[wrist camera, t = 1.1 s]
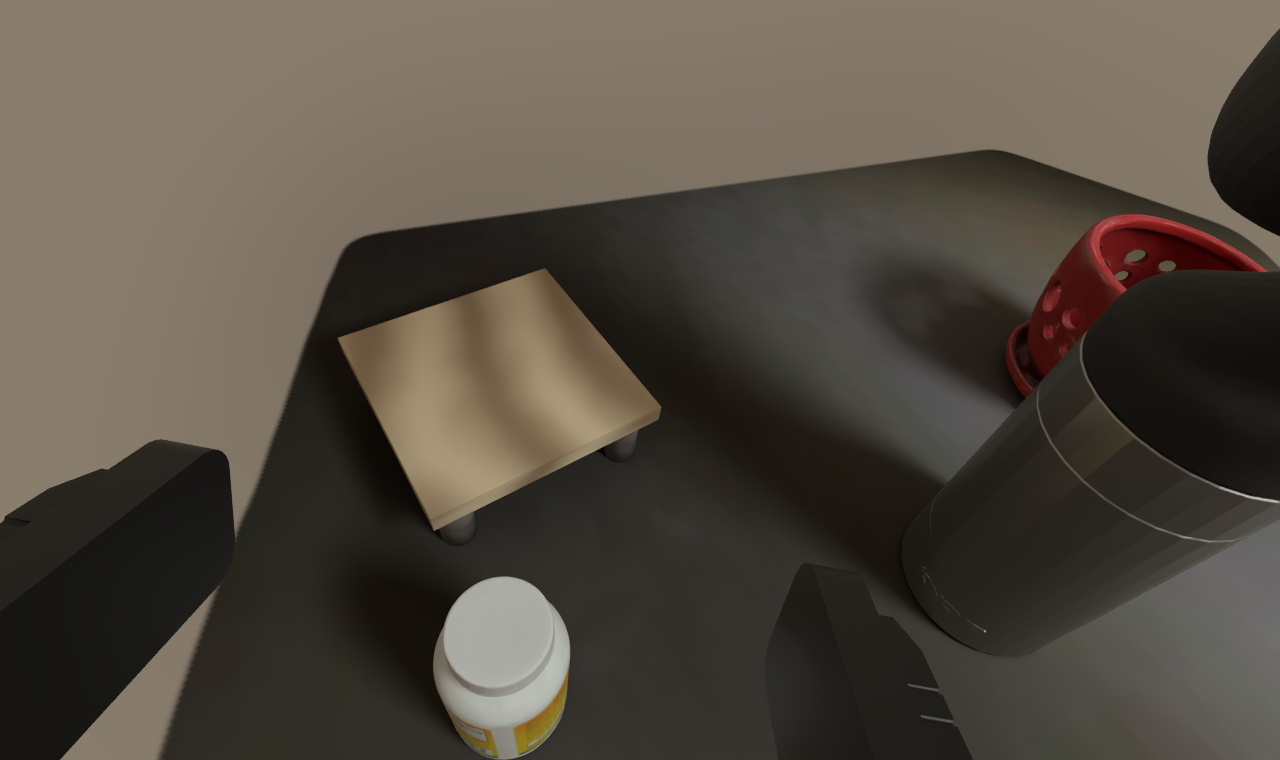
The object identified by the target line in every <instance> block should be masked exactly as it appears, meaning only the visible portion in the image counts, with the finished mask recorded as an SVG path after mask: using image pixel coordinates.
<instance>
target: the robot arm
mask: <svg viewBox="0 0 1280 760" xmlns="http://www.w3.org/2000/svg"><path fill="white" fill-rule="evenodd" d="M1208 167H1209V175H1210V179H1211V182H1212V184H1213V186H1214V187H1215V189H1216V190H1217V192H1218V194H1219V195H1220V197H1221V199H1222V200H1223V201H1224V202H1225V203H1226V204H1228V206H1230V207H1231V208H1232V209H1233V210H1234V211H1236V212H1238V213H1239V214H1241V215H1242V216H1244V217H1245V218H1247V219H1248V220H1250V221H1251V222H1253V223H1255V224H1257V225H1258V226H1260V227H1262V228H1264V229H1265V230H1268V231H1270V232H1272V233H1274V234H1276V235H1278V236H1280V29H1279V30H1278V31H1277V32H1276V33H1275V34H1274V35H1273V36H1272V38H1271V39H1270V40H1269V41H1268V43H1267V44H1266V45H1265V47H1264V48H1263V49H1262V50H1261V52H1260V53H1259V54H1258V55H1257V57H1256V58H1255V59H1254V61H1253V62H1252V63H1251V64H1250V66H1249V67H1248V68H1247V70H1246V71H1245V72H1244V74H1243V75H1242V76H1241V78H1240V79H1239V81H1238V82H1237V83H1236V85H1235V86H1234V88H1233V89H1232V91H1231V93H1230V94H1229V96H1228V98H1227V100H1226V101H1225V103H1224V105H1223V107H1222V109H1221V112H1220V114H1219V116H1218V119H1217V121H1216V123H1215V126H1214V128H1213V131H1212V134H1211V139H1210V145H1209V150H1208ZM1279 519H1280V272H1246V271H1221V270H1181V271H1171V272H1167V273H1162V274H1158V275H1154V276H1152V277H1149V278H1146V279H1144V280H1141V281H1140V282H1138V283H1136V284H1135V285H1133V286H1131V287H1130V288H1128V289H1127V290H1126V291H1125V292H1123V293H1122V294H1121V295H1120V296H1119V297H1118V298H1117V299H1116V300H1115V301H1114V302H1113V303H1112V304H1111V305H1110V306H1109V307H1108V308H1107V309H1106V310H1105V311H1104V312H1103V314H1102V315H1101V316H1100V317H1099V318H1098V319H1097V320H1096V321H1095V322H1094V323H1093V325H1092V326H1091V327H1090V328H1089V329H1088V331H1087V332H1086V333H1085V334H1084V335H1083V336H1082V337H1081V338H1080V339H1079V340H1078V341H1077V342H1076V343H1075V345H1074V346H1073V347H1072V348H1071V349H1070V350H1069V351H1068V352H1067V353H1066V354H1065V355H1064V357H1063V358H1062V359H1061V360H1060V361H1059V362H1058V363H1057V364H1056V365H1055V366H1054V367H1053V369H1052V370H1051V371H1050V372H1049V373H1048V374H1047V375H1046V376H1045V377H1044V379H1043V380H1042V381H1041V382H1040V383H1039V384H1038V385H1037V387H1036V388H1035V389H1034V390H1033V391H1032V392H1031V393H1030V394H1029V395H1028V396H1027V397H1026V398H1025V400H1024V401H1023V402H1022V403H1021V404H1020V405H1019V406H1018V407H1017V408H1016V409H1015V410H1014V411H1013V413H1012V414H1011V415H1010V416H1009V417H1008V418H1007V419H1006V420H1005V421H1004V422H1003V423H1002V424H1001V426H1000V427H999V428H998V429H997V430H996V431H995V432H994V433H993V434H992V435H991V436H990V438H989V439H988V440H987V441H986V442H985V443H984V444H983V445H982V446H981V447H980V448H979V449H978V451H977V452H976V453H975V454H974V455H973V456H972V457H971V458H970V459H969V460H968V461H967V462H966V464H965V465H964V466H963V467H962V468H961V469H960V470H959V471H958V472H957V473H956V474H955V475H954V477H953V478H952V479H951V480H950V481H949V482H948V483H947V484H946V485H945V486H944V487H943V488H942V489H941V490H940V491H939V493H938V494H937V495H936V496H935V497H934V498H933V499H932V500H931V501H930V502H929V503H928V504H927V506H926V507H925V508H924V509H923V510H922V511H921V512H920V513H919V514H918V515H917V516H916V518H915V519H914V520H913V521H912V522H911V524H910V525H909V526H908V528H907V529H906V532H905V534H904V537H903V540H902V548H901V559H902V566H903V571H904V574H905V577H906V580H907V582H908V585H909V587H910V589H911V591H912V593H913V594H914V596H915V598H916V600H917V601H918V603H919V604H920V605H921V607H922V608H923V609H924V610H925V612H926V613H927V614H928V615H929V617H930V618H931V619H932V620H933V621H934V622H936V623H937V624H938V625H939V626H940V627H941V628H942V629H943V630H944V631H945V632H947V633H948V634H950V635H951V636H953V637H954V638H956V639H957V640H958V641H960V642H961V643H963V644H966V645H968V646H970V647H972V648H974V649H976V650H978V651H981V652H985V653H989V654H992V655H996V656H1010V657H1015V656H1020V655H1026V654H1030V653H1032V652H1033V651H1035V650H1037V649H1039V648H1041V647H1043V646H1045V645H1047V644H1049V643H1051V642H1052V641H1054V640H1056V639H1058V638H1060V637H1062V636H1064V635H1066V634H1068V633H1070V632H1072V631H1073V630H1075V629H1078V628H1080V627H1082V626H1084V625H1086V624H1087V623H1089V622H1091V621H1093V620H1095V619H1097V618H1099V617H1100V616H1102V615H1104V614H1106V613H1108V612H1110V611H1112V610H1113V609H1115V608H1117V607H1119V606H1121V605H1123V604H1125V603H1126V602H1128V601H1130V600H1132V599H1134V598H1136V597H1137V596H1139V595H1141V594H1143V593H1145V592H1147V591H1149V590H1150V589H1152V588H1154V587H1156V586H1158V585H1160V584H1162V583H1163V582H1165V581H1167V580H1169V579H1171V578H1173V577H1175V576H1176V575H1178V574H1180V573H1182V572H1184V571H1186V570H1188V569H1189V568H1191V567H1193V566H1195V565H1197V564H1199V563H1201V562H1202V561H1204V560H1206V559H1208V558H1210V557H1212V556H1214V555H1215V554H1217V553H1219V552H1221V551H1223V550H1225V549H1227V548H1228V547H1230V546H1232V545H1234V544H1236V543H1238V542H1240V541H1241V540H1243V539H1245V538H1247V537H1249V536H1250V535H1252V534H1253V533H1255V532H1257V531H1259V530H1261V529H1263V528H1265V527H1266V526H1268V525H1270V524H1272V523H1274V522H1276V521H1277V520H1279ZM234 548H235V532H234V519H233V506H232V494H231V481H230V468H229V462H228V459H227V457H226V455H225V454H224V453H223V452H222V451H219V450H215V449H210V448H204V447H199V446H193V445H188V444H183V443H178V442H172V441H167V440H161V439H160V440H155V441H152V442H149V443H148V444H146V445H144V446H143V447H141V448H140V449H139V450H137V451H136V452H134V453H132V454H131V455H129V456H128V457H126V458H125V459H123V460H122V461H121V462H119V463H118V464H116V465H114V466H113V467H111V468H110V469H108V470H105V469H99V470H97V471H94V472H91V473H89V474H86V475H84V476H81V477H78V478H76V479H73V480H70V481H68V482H65V483H62V484H60V485H57V486H54V487H52V488H49V489H47V490H46V491H44V492H43V493H41V494H39V495H38V496H36V497H35V498H33V499H32V500H30V501H28V502H27V503H25V504H24V505H22V506H21V507H19V508H17V509H16V510H14V511H13V512H11V513H10V514H8V515H7V516H5V519H4V521H3V522H2V523H0V760H60V759H61V758H62V757H63V756H64V755H65V754H66V752H67V751H68V750H69V749H70V748H71V747H72V746H73V745H74V744H75V742H76V741H77V740H78V739H79V738H80V737H81V736H82V735H83V734H84V733H85V732H86V731H87V729H88V728H89V727H90V726H91V725H92V724H93V723H94V722H95V721H96V719H97V718H98V717H99V716H100V715H101V714H102V713H103V711H105V710H106V708H107V707H108V706H109V705H110V704H111V703H112V702H113V701H114V700H115V699H116V697H117V696H118V695H119V694H120V693H121V692H122V691H123V690H124V689H125V688H126V686H127V685H128V684H129V683H130V682H131V681H132V680H133V679H134V678H135V677H136V676H137V674H138V673H139V672H140V671H141V670H142V669H143V668H144V667H145V666H146V664H148V662H149V661H150V660H151V659H152V658H153V657H154V656H155V654H157V653H158V651H159V650H160V649H161V648H162V647H163V646H164V645H165V644H166V643H167V642H168V640H169V639H170V638H171V637H172V636H173V635H174V634H175V633H176V632H177V631H178V629H179V628H180V627H181V626H182V625H183V624H184V623H185V622H186V621H187V619H188V618H189V617H190V616H191V615H192V614H193V613H194V612H195V611H196V610H197V608H198V607H199V606H200V605H201V604H202V603H203V602H204V601H205V600H206V599H207V598H208V596H209V595H210V594H211V593H212V592H213V591H214V590H215V589H216V588H217V586H218V585H219V584H220V582H221V581H222V579H223V578H224V576H225V574H226V572H227V570H228V568H229V566H230V563H231V560H232V557H233V553H234ZM765 685H766V691H767V697H768V703H769V708H770V714H771V720H772V726H773V731H774V737H775V743H776V748H777V754H778V760H973V759H972V757H971V755H970V753H969V751H968V748H967V746H966V744H965V742H964V740H963V738H962V736H961V734H960V731H959V729H958V727H955V726H953V717H952V714H951V712H950V710H949V708H948V706H947V704H946V702H945V700H944V697H943V695H941V694H939V693H938V688H939V687H938V685H937V682H936V680H935V678H934V676H933V674H932V672H931V670H930V668H929V665H928V663H927V661H926V659H925V657H924V655H923V653H922V651H921V649H920V648H919V647H918V646H917V645H916V644H915V643H914V641H913V640H912V639H911V638H910V637H909V636H908V634H907V633H906V632H905V631H904V630H903V629H902V628H901V626H900V625H899V624H898V623H897V622H896V621H895V620H894V618H893V617H887V616H882V615H878V613H877V610H876V608H875V606H874V603H873V601H872V598H871V596H870V594H869V591H868V589H867V586H866V584H865V582H864V580H863V578H862V577H861V575H860V574H858V573H856V572H851V571H846V570H840V569H835V568H830V567H825V566H819V565H814V564H809V563H804V564H803V565H801V567H800V568H799V569H798V571H797V573H796V575H795V578H794V580H793V583H792V585H791V588H790V590H789V593H788V595H787V598H786V600H785V603H784V605H783V608H782V610H781V613H780V615H779V618H778V620H777V623H776V625H775V628H774V630H773V633H772V635H771V638H770V641H769V644H768V648H767V653H766V661H765Z"/></svg>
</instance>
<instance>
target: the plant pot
mask: <svg viewBox="0 0 1280 760" xmlns="http://www.w3.org/2000/svg"><path fill="white" fill-rule="evenodd" d="M1137 249H1141V250H1144V251H1145V252H1146V254H1145V256H1144V257H1143V258H1142V259H1140V260H1138V261H1134V262H1127V261H1125V258H1126V255H1127V254H1128V253H1130V252H1132V251H1134V250H1137ZM1167 260H1168V261H1173V262H1174V263H1175V264H1176V267H1175V269H1174V270H1172V271H1181V270H1221V271H1246V272H1267V271H1266V270H1264V269H1263V268H1262V267H1261V266H1259V265H1258V264H1257V263H1255V262H1254V261H1253V260H1251V259H1250V258H1249V257H1247V256H1246V255H1244V254H1243V253H1241V252H1240V251H1238V250H1236V249H1235V248H1233V247H1231V246H1229V245H1227V244H1225V243H1224V242H1222V241H1221V240H1219V239H1217V238H1215V237H1213V236H1211V235H1208V234H1206V233H1203V232H1201V231H1199V230H1196V229H1194V228H1191V227H1189V226H1186V225H1183V224H1180V223H1177V222H1173V221H1170V220H1166V219H1162V218H1158V217H1153V216H1147V215H1129V214H1127V215H1118V216H1113V217H1109V218H1106V219H1104V220H1101V221H1099V222H1097V223H1096V224H1095V225H1093V226H1092V227H1091V228H1090V229H1089V230H1088V231H1087V232H1086V233H1085V234H1084V235H1083V236H1082V238H1081V239H1080V240H1079V241H1078V242H1077V243H1076V244H1075V246H1074V247H1073V248H1072V249H1071V251H1070V252H1069V253H1068V254H1067V256H1066V257H1065V258H1064V260H1063V261H1062V263H1061V264H1060V265H1059V267H1058V268H1057V269H1056V271H1055V272H1054V273H1053V275H1052V277H1051V278H1050V280H1049V282H1048V284H1047V285H1046V287H1045V289H1044V291H1043V293H1042V294H1041V296H1040V298H1039V299H1038V301H1037V303H1036V306H1035V308H1034V311H1033V314H1032V317H1031V320H1029V321H1026V322H1024V323H1022V324H1020V325H1019V326H1018V327H1017V328H1016V329H1015V330H1014V331H1013V332H1012V333H1011V335H1010V337H1009V339H1008V341H1007V345H1006V363H1007V367H1008V370H1009V373H1010V375H1011V378H1012V380H1013V381H1014V383H1015V385H1016V386H1017V388H1018V389H1019V391H1020V392H1021V393H1022V394H1023V396H1024V397H1025V398H1026V397H1027V396H1028V395H1029V394H1030V393H1031V392H1032V391H1033V390H1034V389H1035V388H1036V387H1037V385H1038V384H1039V383H1040V382H1041V381H1042V380H1043V379H1044V377H1045V376H1046V375H1047V374H1048V373H1049V372H1050V371H1051V370H1052V369H1053V367H1054V366H1055V365H1056V364H1057V363H1058V362H1059V361H1060V360H1061V359H1062V358H1063V357H1064V355H1065V354H1066V353H1067V352H1068V351H1069V350H1070V349H1071V348H1072V347H1073V346H1074V345H1075V343H1076V342H1077V341H1078V340H1079V339H1080V338H1081V337H1082V336H1083V335H1084V334H1085V333H1086V332H1087V331H1088V329H1089V328H1090V327H1091V326H1092V325H1093V323H1094V322H1095V321H1096V320H1097V319H1098V318H1099V317H1100V316H1101V315H1102V314H1103V312H1104V311H1105V310H1106V309H1107V308H1108V307H1109V306H1110V305H1111V304H1112V303H1113V302H1114V301H1115V300H1116V299H1117V298H1118V297H1119V296H1120V295H1121V294H1122V293H1123V292H1125V291H1126V290H1127V289H1128V288H1130V287H1131V286H1133V285H1135V284H1136V283H1138V282H1140V281H1141V280H1144V279H1146V278H1149V277H1152V276H1154V275H1158V274H1162V273H1167V272H1165V271H1161V270H1160V269H1159V267H1158V266H1159V264H1160V263H1161V262H1163V261H1167ZM1120 271H1127V272H1128V276H1127V277H1126V278H1125V279H1123V280H1119V281H1118V280H1117V279H1116V278H1115V277H1114V276H1115V275H1116V274H1117V273H1118V272H1120ZM1168 272H1171V271H1168Z"/></svg>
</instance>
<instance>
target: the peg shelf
mask: <svg viewBox="0 0 1280 760" xmlns="http://www.w3.org/2000/svg"><path fill="white" fill-rule="evenodd" d="M338 340H339V343H340V345H341V348H342V351H343V353H344V355H345V357H346V359H347V361H348V363H349V365H350V367H351V369H352V371H353V373H354V374H355V376H356V378H357V380H358V382H359V384H360V386H361V388H362V390H363V392H364V394H365V396H366V398H367V400H368V402H369V404H370V406H371V408H372V410H373V412H374V414H375V416H376V418H377V420H378V422H379V424H380V426H381V428H382V430H383V432H384V434H385V436H386V437H387V439H388V441H389V443H390V445H391V447H392V449H393V451H394V453H395V455H396V457H397V459H398V461H399V463H400V465H401V467H402V469H403V471H404V473H405V475H406V477H407V479H408V481H409V483H410V485H411V487H412V489H413V491H414V493H415V495H416V497H417V499H418V501H419V502H420V504H421V506H422V508H423V510H424V512H425V514H426V516H427V518H428V520H429V522H430V524H431V526H432V528H433V530H434V531H435V530H437V529H439V530H440V533H441V537H442V539H443V540H444V541H445V542H446V543H447V544H449V545H451V546H462V545H465V544H467V543H469V542H470V541H471V540H472V539H473V538H474V536H475V534H476V531H477V525H476V520H475V515H474V511H475V510H477V509H479V508H481V507H483V506H485V505H487V504H489V503H491V502H493V501H495V500H497V499H499V498H501V497H503V496H505V495H507V494H509V493H511V492H513V491H515V490H517V489H519V488H521V487H523V486H525V485H527V484H529V483H531V482H533V481H535V480H537V479H539V478H541V477H543V476H546V475H548V474H550V473H552V472H554V471H556V470H558V469H560V468H562V467H564V466H566V465H568V464H570V463H572V462H574V461H576V460H578V459H580V458H582V457H584V456H586V455H588V454H590V453H592V452H594V451H596V450H598V449H600V448H602V447H604V453H605V455H606V456H607V457H608V458H609V459H610V460H612V461H615V462H624V461H627V460H629V459H630V458H631V457H632V456H633V454H634V450H635V444H636V438H637V432H638V429H640V428H642V427H644V426H646V425H648V424H650V423H652V422H654V421H656V420H658V419H659V415H660V411H661V406H660V405H659V404H658V403H657V401H656V400H655V399H654V398H653V397H652V395H651V394H650V393H649V392H648V391H647V389H646V388H645V387H644V386H643V385H642V383H641V382H640V381H639V380H638V379H637V377H636V376H635V375H634V374H633V373H632V372H631V370H630V369H629V368H628V367H627V366H626V364H625V363H624V362H623V361H622V360H621V358H620V357H619V356H618V355H617V354H616V352H615V351H614V350H613V349H612V348H611V346H610V345H609V344H608V343H607V342H606V340H605V339H604V338H603V337H602V336H601V335H600V333H599V332H598V331H597V330H596V329H595V327H594V326H593V325H592V324H591V323H590V321H589V320H588V319H587V318H586V317H585V315H584V314H583V313H582V312H581V311H580V309H579V308H578V307H577V306H576V305H575V303H574V302H573V301H572V300H571V299H570V298H569V296H568V295H567V294H566V293H565V292H564V290H563V289H562V288H561V287H560V286H559V284H558V283H557V282H556V281H555V280H554V278H553V277H552V276H551V275H550V274H549V272H548V271H547V270H546V269H545V268H544V269H542V270H539V271H536V272H533V273H530V274H527V275H524V276H521V277H518V278H515V279H512V280H509V281H506V282H503V283H500V284H497V285H494V286H491V287H488V288H485V289H482V290H479V291H476V292H473V293H470V294H467V295H464V296H461V297H458V298H455V299H452V300H449V301H446V302H443V303H440V304H437V305H434V306H432V307H429V308H426V309H423V310H420V311H417V312H414V313H411V314H408V315H405V316H402V317H399V318H396V319H393V320H390V321H387V322H384V323H381V324H378V325H375V326H372V327H369V328H366V329H363V330H360V331H357V332H354V333H351V334H348V335H345V336H342V337H339V338H338Z"/></svg>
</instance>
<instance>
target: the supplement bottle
mask: <svg viewBox="0 0 1280 760" xmlns="http://www.w3.org/2000/svg"><path fill="white" fill-rule="evenodd" d="M569 663H570V644H569V637H568V633H567V630H566V627H565V624H564V622H563V620H562V618H561V616H560V615H559V613H558V612H557V611H556V609H555V608H554V607H553V606H552V605H551V604H550V603H549V602H548V601H547V600H546V599H545V597H544V596H543V594H542V593H541V592H540V591H539V590H538V589H537V588H536V587H534V586H533V585H531V584H530V583H528V582H526V581H524V580H521V579H518V578H514V577H495V578H490V579H487V580H484V581H481V582H479V583H477V584H475V585H474V586H472V587H470V588H469V589H468V590H466V591H465V592H464V593H463V594H462V595H461V596H460V597H459V598H458V599H457V600H456V602H455V603H454V604H453V606H452V607H451V609H450V611H449V613H448V616H447V618H446V621H445V624H444V627H443V629H442V631H441V633H440V635H439V638H438V641H437V644H436V647H435V652H434V660H433V672H434V679H435V684H436V687H437V690H438V693H439V695H440V697H441V699H442V702H443V704H444V706H445V708H446V710H447V712H448V714H449V716H450V717H451V720H452V722H453V724H454V726H455V728H456V730H457V732H458V734H459V735H460V737H461V738H462V739H463V741H464V742H465V743H466V744H467V745H468V746H469V747H470V748H471V749H473V750H474V751H475V752H477V753H479V754H481V755H483V756H486V757H489V758H493V759H512V758H517V757H520V756H523V755H525V754H527V753H529V752H531V751H533V750H534V749H536V748H537V747H538V746H540V745H541V744H542V743H543V742H544V741H545V740H546V739H547V738H548V737H549V736H550V734H551V733H552V732H553V730H554V729H555V727H556V726H557V724H558V722H559V720H560V718H561V716H562V713H563V710H564V706H565V702H566V694H567V681H568V671H569Z"/></svg>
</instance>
